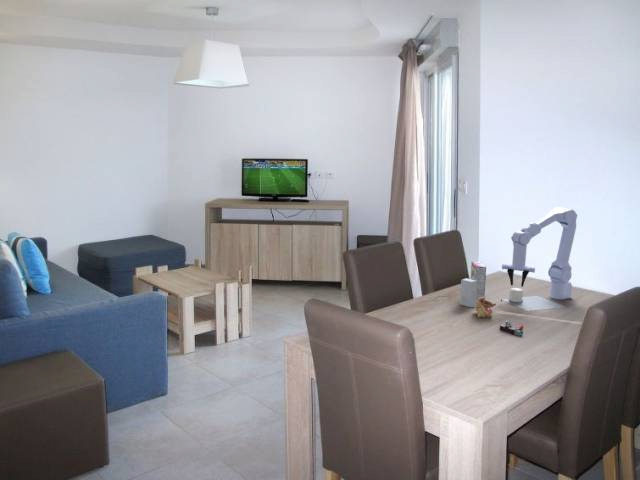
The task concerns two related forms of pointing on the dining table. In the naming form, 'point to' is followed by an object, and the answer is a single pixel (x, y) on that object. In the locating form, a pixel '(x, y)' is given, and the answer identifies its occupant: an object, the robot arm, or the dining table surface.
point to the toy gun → (511, 329)
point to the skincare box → (468, 292)
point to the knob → (516, 294)
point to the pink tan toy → (483, 307)
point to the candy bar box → (479, 277)
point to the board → (534, 303)
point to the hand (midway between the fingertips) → (517, 285)
